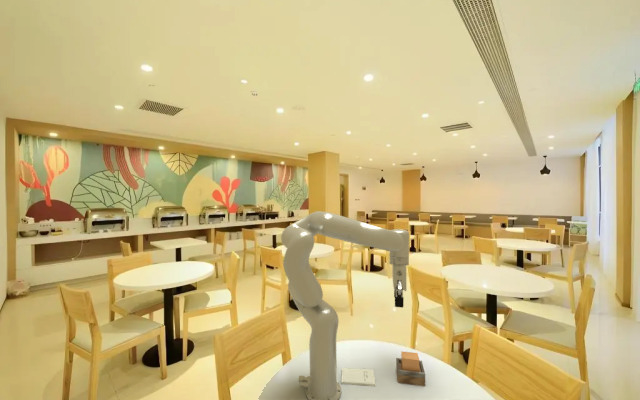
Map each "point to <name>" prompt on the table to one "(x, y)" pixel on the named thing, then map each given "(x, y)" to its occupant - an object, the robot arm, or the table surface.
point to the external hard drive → (358, 377)
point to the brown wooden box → (410, 374)
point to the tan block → (410, 361)
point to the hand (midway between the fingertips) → (398, 302)
